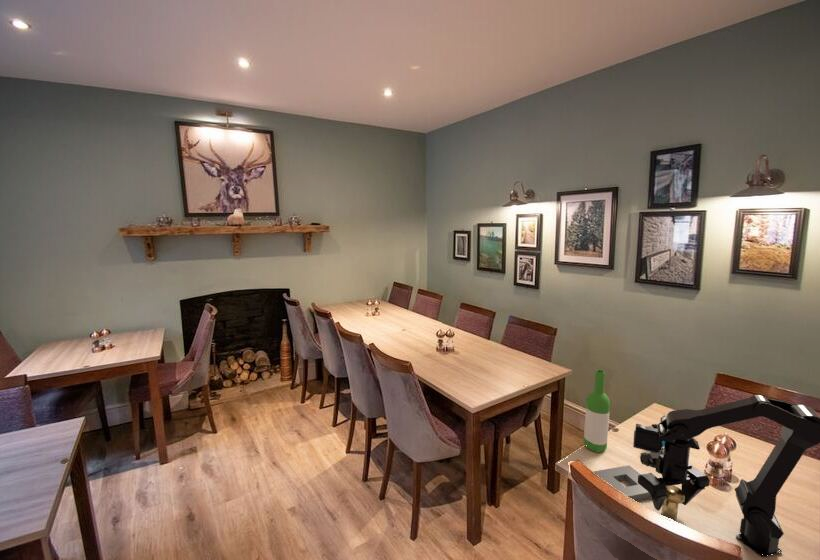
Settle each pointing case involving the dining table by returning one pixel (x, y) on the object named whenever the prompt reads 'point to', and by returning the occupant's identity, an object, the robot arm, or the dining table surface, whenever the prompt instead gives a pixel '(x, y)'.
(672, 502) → the door knob
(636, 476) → the housing plate
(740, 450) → the dining table surface
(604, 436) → the wine bottle
